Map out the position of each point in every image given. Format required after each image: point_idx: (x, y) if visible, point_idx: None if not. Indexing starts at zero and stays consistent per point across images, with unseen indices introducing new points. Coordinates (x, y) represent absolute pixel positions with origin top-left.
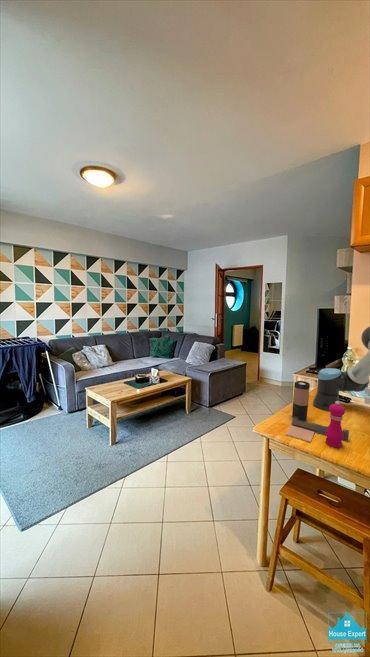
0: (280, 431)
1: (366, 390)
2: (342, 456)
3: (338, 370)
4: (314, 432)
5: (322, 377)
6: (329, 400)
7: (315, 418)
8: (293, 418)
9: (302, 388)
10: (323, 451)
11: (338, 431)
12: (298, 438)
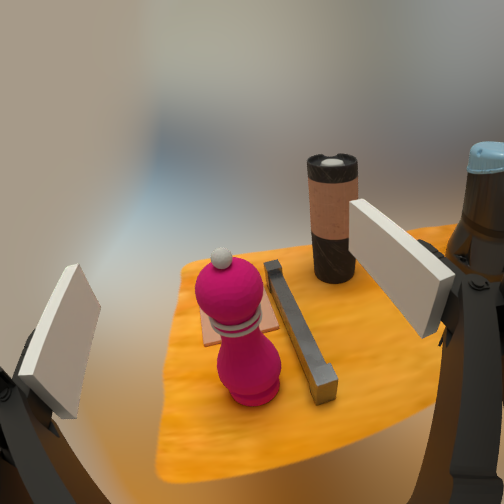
0: None
1: (354, 225)
2: (190, 426)
3: None
4: (275, 327)
5: (470, 164)
6: (473, 245)
7: None
8: (264, 266)
9: (312, 177)
10: (179, 383)
11: (225, 365)
12: (201, 321)
